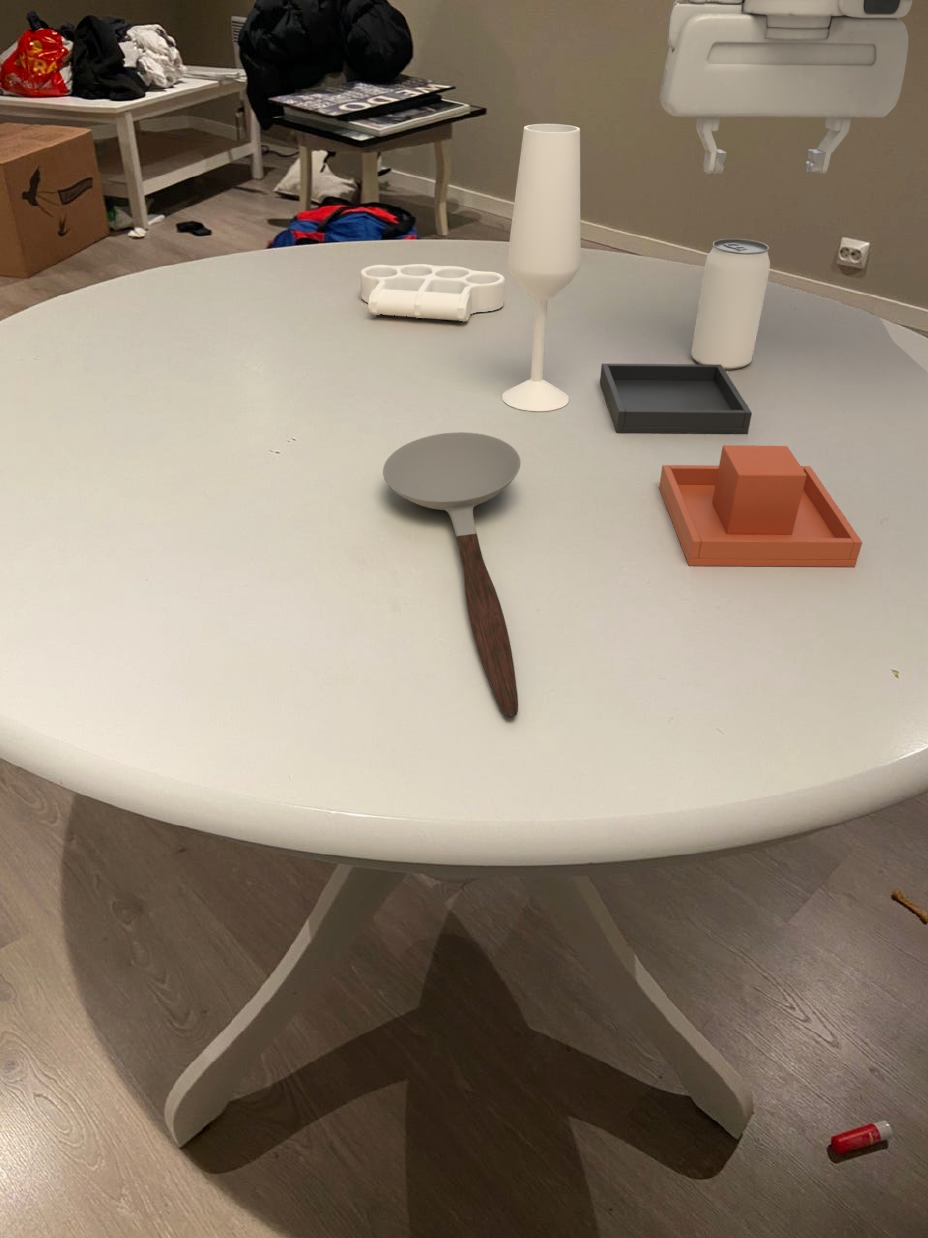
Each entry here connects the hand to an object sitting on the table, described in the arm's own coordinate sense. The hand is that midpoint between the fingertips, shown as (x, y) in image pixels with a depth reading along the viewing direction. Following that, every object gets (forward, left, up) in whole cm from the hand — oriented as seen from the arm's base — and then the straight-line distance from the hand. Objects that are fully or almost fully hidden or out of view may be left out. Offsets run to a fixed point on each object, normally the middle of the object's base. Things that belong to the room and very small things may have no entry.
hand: (764, 172), depth 86 cm
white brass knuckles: (+31, -26, -20) cm, 45 cm away
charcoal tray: (+7, +5, -20) cm, 22 cm away
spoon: (+27, +35, -20) cm, 49 cm away
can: (-1, -8, -20) cm, 22 cm away
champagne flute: (+20, +3, -20) cm, 28 cm away
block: (+5, +28, -20) cm, 35 cm away
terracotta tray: (+5, +28, -20) cm, 35 cm away
